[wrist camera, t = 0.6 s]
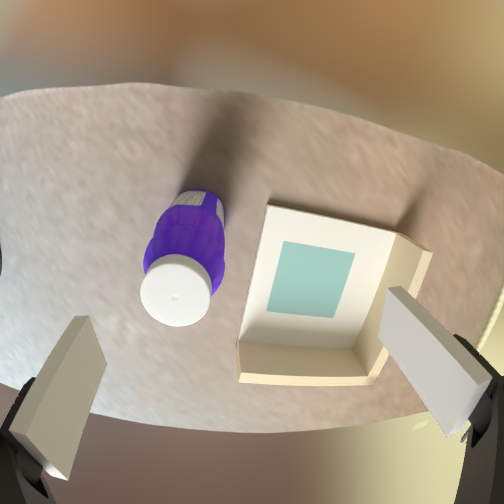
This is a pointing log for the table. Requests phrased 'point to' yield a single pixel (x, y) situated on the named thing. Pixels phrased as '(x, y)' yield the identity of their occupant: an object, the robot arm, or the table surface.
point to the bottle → (184, 259)
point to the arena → (321, 299)
